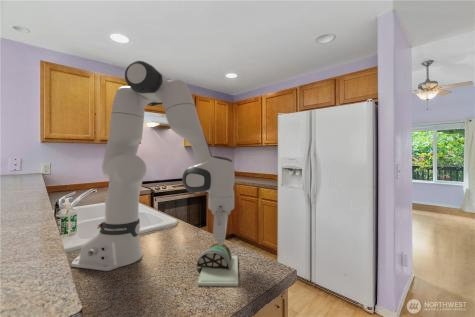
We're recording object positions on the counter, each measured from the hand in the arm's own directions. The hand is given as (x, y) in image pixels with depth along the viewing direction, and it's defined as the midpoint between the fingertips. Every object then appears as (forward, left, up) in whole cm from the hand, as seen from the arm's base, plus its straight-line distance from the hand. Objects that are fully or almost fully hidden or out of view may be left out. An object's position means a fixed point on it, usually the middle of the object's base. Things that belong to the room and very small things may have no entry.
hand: (220, 243), depth 77 cm
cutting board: (0, -1, -8) cm, 8 cm away
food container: (-1, +8, -5) cm, 9 cm away
